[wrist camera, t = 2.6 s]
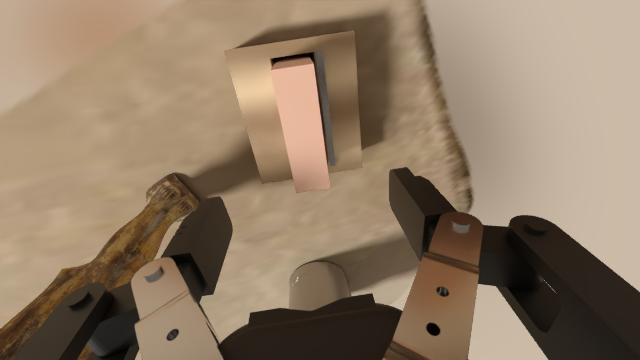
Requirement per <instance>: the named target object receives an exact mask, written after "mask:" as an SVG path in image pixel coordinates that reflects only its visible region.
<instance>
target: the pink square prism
mask: <svg viewBox="0 0 640 360" xmlns="http://www.w3.org/2000/svg"><path fill="white" fill-rule="evenodd" d="M270 73H271V78H272V83H273V87H274V92H275V97H276V101H277V106H278V111H279V115H280V120H281V124H282V129H283V134H284V138H285V143H286V148H287V152H288V157H289V162H290V166H291V171H292V176H293V180H294V185H295V190H296V193H301V192H307V191H313V190H320V189H326V188H330V182H329V175H328V167H327V160H326V152H325V145H324V137H323V130H322V122H321V115H320V107H319V100H318V92H317V85H316V77H315V70H314V63H313V62H312V60H311V58H310V57H309V55H302V56H296V57H289V58H283V59H278V60H277V62H276V63H275V64H274V66H273V67H272V68H271V70H270Z"/></svg>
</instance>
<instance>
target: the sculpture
mask: <svg viewBox="0 0 640 360" xmlns="http://www.w3.org/2000/svg"><path fill="white" fill-rule="evenodd" d="M146 197H147V200H146V202H147V203H148V205H147V206H146V207H145V208H144V210H143V211H142V212H141V213H140V214H139V215H138V216H136V217H135V218H134V219H133V220H131V221H130V222H129V223H127V224H126V225H125V226H123V227H122V228H121V229H119V230H118V231H117V232H116V233H115V234H114V235H113V236H112V237H111V238H110V239H109V241H108V242H107V243H106V244H105V246H104V247H103V249H102V250H101V251H100V253H99V254H98V255H97V257H96V258H95V259H94V260H93V261H91V262H90V263H87V264H84V265H82V266H79V267H73V268H66V269H62V270H61V271H60V273H59V274H58V275H57V277H56V278H55V280H54V281H53V282H52V283H51V284H50V285H49V286H48V287H47V288H46V290H45V291H44V292H42V293H41V294H40V295H39V296H38V297H37V298H36V299H35V300H33V301H32V302H31V303H30V304H29V305H28V306H26V307H25V308H24V309H23V310H22V311H21V312H19V313H18V314H17V315H16V316H15V317H14V318H12V319H11V320H10V321H9V322H8V323H7V324H6V325H4V326H3V327H2V328H1V329H0V360H13V359H14V358H15V357H16V355H17V354H18V353H19V352H20V351H21V349H22V348H23V347H24V346H25V344H26V343H27V342H28V341H29V340H30V338H31V337H32V336H33V335H34V333H35V332H36V331H37V330H38V329H39V327H40V326H41V325H42V324H43V322H44V321H45V320H46V319H47V318H48V316H49V315H50V314H51V313H52V312H53V310H54V309H55V308H56V307H57V305H58V304H59V303H60V302H61V301H62V300H63V299H64V298H65V297H67V296H68V295H69V294H71V293H72V292H73V291H75V290H77V289H78V288H80V287H82V286H85V285H87V284H90V283H95V282H100V283H103V284H104V285H105V286H106V287H107V288H108V290H111V289H114V288H116V287H119V286H121V285H124V284H127V283H129V282H131V280H132V278H133V276H134V275H135V274H136V272H137V271H138V270H139V269H140V268H142V267H143V266H144V265H146V264H147V263H149V262H151V261H153V260H154V258H155V256H156V254H157V252H158V250H159V247H160V244H161V242H162V239H163V237H164V235H165V233H166V231H167V230H168V228H169V227H170V225H171V224H172V223H174V222H175V221H176V222H178V221H181V220H184V218H185V217H187V216H188V215H189V214H190V213H191V212H192V211H196V209H197V207H198V205H199V204H200V203H199V200H198V199H197V198H195V197H194V196H193V195H192V194H191V192H190V191H189V190H188V189H187V188H186V187H185V185H184V184H183V183H182V182H181V181H180V180H179V179H178V178H177V177H176V176H175V175H174V174H171V175H167V176H166V177H164V178H163V179H161V180H160V181H159V182H157V183H156V184H154V185H153V186H152V187H151V188H149V189H148V191H147V192H146ZM91 352H92V351H91V350H90V349H89V348H88V347H87V346H85V347H84V349H83V351H82V352H81V354H80V355H79V357H78V359H77V360H87V359H88V357H89V356H90V354H91Z"/></svg>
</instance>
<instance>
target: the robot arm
mask: <svg viewBox="0 0 640 360" xmlns="http://www.w3.org/2000/svg"><path fill="white" fill-rule="evenodd" d="M389 201H390V206H391V209H392V211H393V213H394V214H395V216H396V218H397V220H398V222H399V224H400V225H401V227H402V229H403V231H404V233H405V235H406V236H407V238H408V240H409V242H410V244H411V246H412V247H413V249H414V251H415V253H416V255H417V257H418V258H419V260H420V265H419V268H418V271H417V273H416V276H415V279H414V282H413V284H412V287H411V290H410V293H409V295H408V298H407V301H406V304H405V307H404V309H403V311H401V310H399V309H397V308H395V307H392V306H389V305H384V304H379V303H375V301H374V298H373V294H372V293H371V294H365V295H359V296H351V291H350V286H349V284H348V283H347V282H346V277H345V274H344V272H343V271H342V269H341V268H339V267H338V266H337V265H334V264H332V263H328V262H312V263H308V264H305V265H303V266H301V267H299V268H298V269H297V270H296V271H294V273H293V274H292V276H291V278H290V291H289V309H285V308H277V309H271V310H265V311H259V312H252V313H250V317H249V323H248V324H247V325H245V326H243V327H241V328H239V329H237V330H236V331H234V332H233V333H232V334H230V335H229V336H228V337H227V338H225V339H224V340H223V341H222V342H221V341H220V339H219V338H218V336H217V334H216V332H215V330H214V328H213V326H212V325H211V323H210V321H209V319H208V317H207V315H206V313H205V311H204V310H203V308H202V306H201V304H200V300H201V297H202V296H205V295H212V294H214V291H215V287H216V284H217V281H218V278H219V275H220V272H221V268H222V265H223V262H224V259H225V256H226V253H227V249H228V246H229V243H230V240H231V237H232V232H233V228H232V223H231V220H230V217H229V215H228V212H227V210H226V207H225V205H224V202H223V200H222V198H221V197H219V196H218V197H212V198H206V199H202V200H201V202H200V204H199V205H198V207H197V209H196V211H192V212H191V213H190V214H189V215H188V216H187V217H185V218H184V220H183V221H182V223H181V225H180V226H179V229H177V231H176V233H175V236H173V238H172V239H171V241H170V243H169V244H168V246H167V248H166V249H165V251H164V253H163V254H162V256H161V258H159V259H155V260H153V261H151V262H149V263H147V264H146V265H144V266H143V267H142V268H140V269H139V270H138V271H137V272H136V274H135V275H134V276H133V278H132V280H131V282H129V283H127V284H124V285H121V286H119V287H116V288H114V289H111V290H108V288H107V287H106V286H105V285H104V284H103V283H100V282H95V283H90V284H87V285H85V286H82V287H80V288H78V289H77V290H75V291H73V292H72V293H71V294H69V295H68V296H67V297H65V298H64V299H63V300H62V301H61V302H60V303H59V304H58V305H57V307H56V308H55V309H54V310H53V312H52V313H51V314H50V315H49V316H48V318H47V319H46V320H45V321H44V322H43V324H42V325H41V326H40V327H39V329H38V330H37V331H36V332H35V333H34V335H33V336H32V337H31V338H30V340H29V341H28V342H27V343H26V344H25V346H24V347H23V348H22V349H21V351H20V352H19V353H18V354H17V355H16V357H15V358H14V359H13V360H77V359H78V357H79V355H80V354H81V352H82V351H83V349H84V347H85V346H87V347H88V348H89V349H90V350H91V351H92V352H91V354H90V356H89V357H88V359H87V360H135V358H136V355H137V353H138V351H139V349H140V352H141V357H142V360H468V353H469V345H470V337H471V330H472V322H473V315H474V307H475V300H476V293H477V285H478V284H484V285H492V286H496V287H497V288H498V289H499V291H500V292H501V294H502V295H503V297H504V298H505V299H506V301H507V302H508V304H509V305H510V306H511V308H512V309H513V311H514V312H515V313H516V315H517V316H518V318H519V319H520V320H521V322H522V323H523V325H524V326H525V327H526V329H527V330H528V332H529V333H530V334H531V336H532V337H533V338H534V340H535V341H536V342H537V344H538V346H539V347H540V348H541V350H542V351H543V353H544V354H545V355H546V357H547V358H548V360H640V292H639V291H638V290H636V289H635V288H634V287H633V286H631V285H630V284H629V283H628V282H626V281H625V280H624V279H623V278H621V277H620V276H619V275H618V274H616V273H615V272H614V271H613V270H611V269H610V268H609V267H608V266H606V265H605V264H604V263H603V262H601V261H600V260H599V259H598V258H596V257H595V256H594V255H593V254H591V253H590V252H589V251H588V250H586V249H585V248H584V247H583V246H581V245H580V244H579V243H578V242H576V241H575V240H574V239H573V238H571V237H570V236H569V235H568V234H566V233H565V232H564V231H563V230H562V229H560V228H559V227H558V226H556V225H555V224H553V223H552V222H549V221H548V220H545V219H543V218H539V217H535V216H528V215H521V216H516V217H514V218H512V219H511V220H510V223H509V226H508V227H502V226H488V225H483V224H482V223H481V222H480V221H479V220H478V219H477V218H476V217H474V216H472V215H470V214H467V213H464V212H457V211H456V209H455V208H454V207H453V206H452V205H451V204H450V203H449V202H448V201H447V200H446V198H445V197H444V196H443V195H442V194H440V192H439V191H438V190H437V189H435V186H434V185H433V184H432V183H431V182H430V181H429V180H427V179H425V178H423V177H421V176H414V175H413V174H412V172H411V171H410V170H409V169H408V168H407V167H404V168H398V169H392V170H390V172H389ZM544 280H545V281H546V282H547V283H548V284H549V285H550V286H551V287H550V286H549V285H548V284H547V283H546V282H545V281H544ZM552 289H553V290H554V291H555V292H556V293H557V294H556V293H555V292H554V291H553V290H552Z"/></svg>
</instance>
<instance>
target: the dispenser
mask: <svg viewBox="0 0 640 360" xmlns="http://www.w3.org/2000/svg"><path fill="white" fill-rule="evenodd" d="M309 52H312V58H313V63H314V70H315V77H316V85H317V92H318V100H319V107H320V115H321V122H322V130H323V137H324V145H325V152H326V160H327V167H328V173H333V172H340V171H346V170H352V169H359V168H362V154H361V136H360V118H359V100H358V82H357V64H356V46H355V31H345V32H339V33H332V34H326V35H319V36H313V37H306V38H300V39H293V40H287V41H280V42H274V43H267V44H261V45H254V46H248V47H241V48H235V49H230V50H225V51H224V53H225V56H226V59H227V63H228V66H229V70H230V73H231V77H232V80H233V84H234V87H235V91H236V94H237V98H238V101H239V105H240V108H241V111H242V115H243V118H244V122H245V125H246V129H247V132H248V136H249V139H250V143H251V146H252V150H253V153H254V156H255V160H256V163H257V167H258V170H259V174H260V177H261V181H262V184H263V183H269V182H276V181H282V180H288V179H293V176H292V171H291V166H290V162H289V157H288V152H287V148H286V143H285V138H284V134H283V129H282V124H281V120H280V115H279V111H278V106H277V101H276V97H275V92H274V87H273V83H272V78H271V73H270V70H271V68H272V67H273V66H274V64H275V60H274V58H277V57H283V56H290V55H296V54H303V53H309Z"/></svg>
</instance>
